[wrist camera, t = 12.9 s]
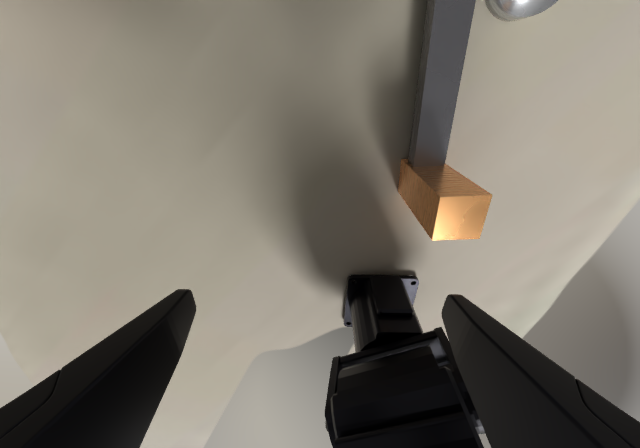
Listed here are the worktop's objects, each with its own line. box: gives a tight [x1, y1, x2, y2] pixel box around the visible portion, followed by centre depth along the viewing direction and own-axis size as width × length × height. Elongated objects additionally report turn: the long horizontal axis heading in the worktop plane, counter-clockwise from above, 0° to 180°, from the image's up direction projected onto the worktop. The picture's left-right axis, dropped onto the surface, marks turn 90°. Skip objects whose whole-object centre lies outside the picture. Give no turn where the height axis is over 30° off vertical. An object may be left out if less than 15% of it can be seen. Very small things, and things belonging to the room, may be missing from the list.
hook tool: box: [398, 0, 492, 240], centre depth 13 cm, size 16×7×7 cm, turn 3°
